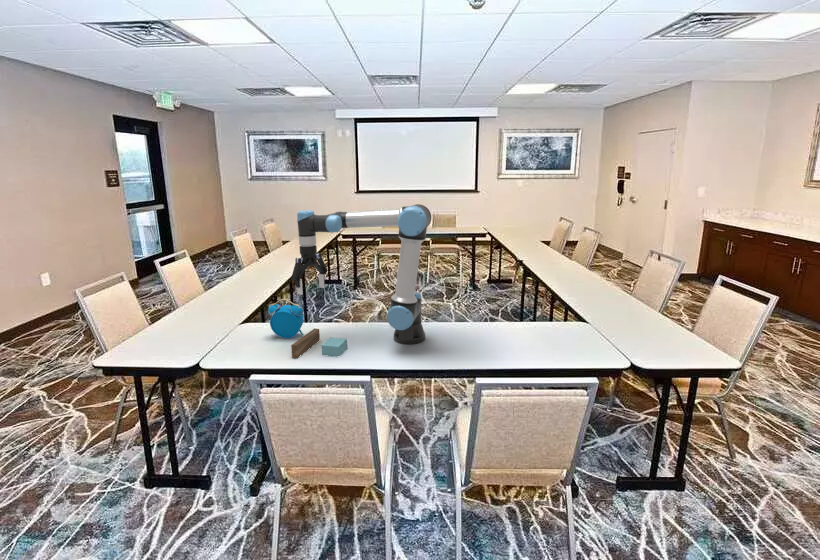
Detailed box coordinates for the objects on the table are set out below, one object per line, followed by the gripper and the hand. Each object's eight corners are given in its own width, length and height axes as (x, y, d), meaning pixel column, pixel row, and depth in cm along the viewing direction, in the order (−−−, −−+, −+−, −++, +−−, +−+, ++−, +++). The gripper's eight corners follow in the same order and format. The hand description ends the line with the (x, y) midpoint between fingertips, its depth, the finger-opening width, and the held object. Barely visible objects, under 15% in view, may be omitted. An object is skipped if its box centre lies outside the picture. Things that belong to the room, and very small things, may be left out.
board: (319, 340, 225) (319, 328, 223) (297, 358, 204) (296, 345, 203) (315, 340, 226) (314, 328, 224) (292, 358, 205) (291, 345, 204)
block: (347, 349, 215) (346, 338, 214) (339, 357, 206) (338, 346, 204) (331, 347, 217) (330, 337, 216) (322, 356, 208) (321, 345, 206)
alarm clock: (308, 333, 234) (305, 295, 230) (301, 341, 224) (298, 300, 220) (275, 333, 236) (272, 294, 231) (267, 340, 226) (264, 300, 221)
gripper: (321, 240, 224) (324, 284, 229) (280, 248, 204) (284, 295, 209) (333, 241, 220) (336, 286, 225) (292, 250, 200) (296, 298, 205)
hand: (311, 290), depth 217 cm, fingers open, 13 cm apart
